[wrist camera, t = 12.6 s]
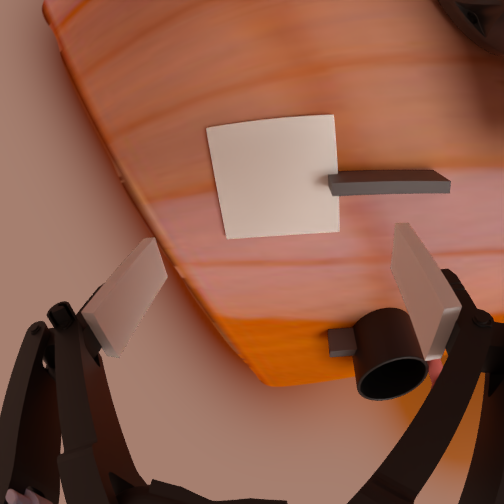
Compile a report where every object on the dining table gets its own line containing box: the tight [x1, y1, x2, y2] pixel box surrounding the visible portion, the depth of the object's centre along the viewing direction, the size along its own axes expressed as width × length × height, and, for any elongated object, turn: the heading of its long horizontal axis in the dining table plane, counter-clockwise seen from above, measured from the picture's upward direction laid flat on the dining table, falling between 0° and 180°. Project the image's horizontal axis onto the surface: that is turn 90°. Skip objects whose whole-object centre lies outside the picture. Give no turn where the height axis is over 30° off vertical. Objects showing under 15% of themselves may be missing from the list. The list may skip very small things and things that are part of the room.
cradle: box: [328, 170, 451, 389], centre depth 26 cm, size 23×15×13 cm, turn 8°
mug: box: [352, 308, 429, 401], centre depth 34 cm, size 9×12×9 cm
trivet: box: [206, 114, 339, 239], centre depth 28 cm, size 12×12×1 cm
